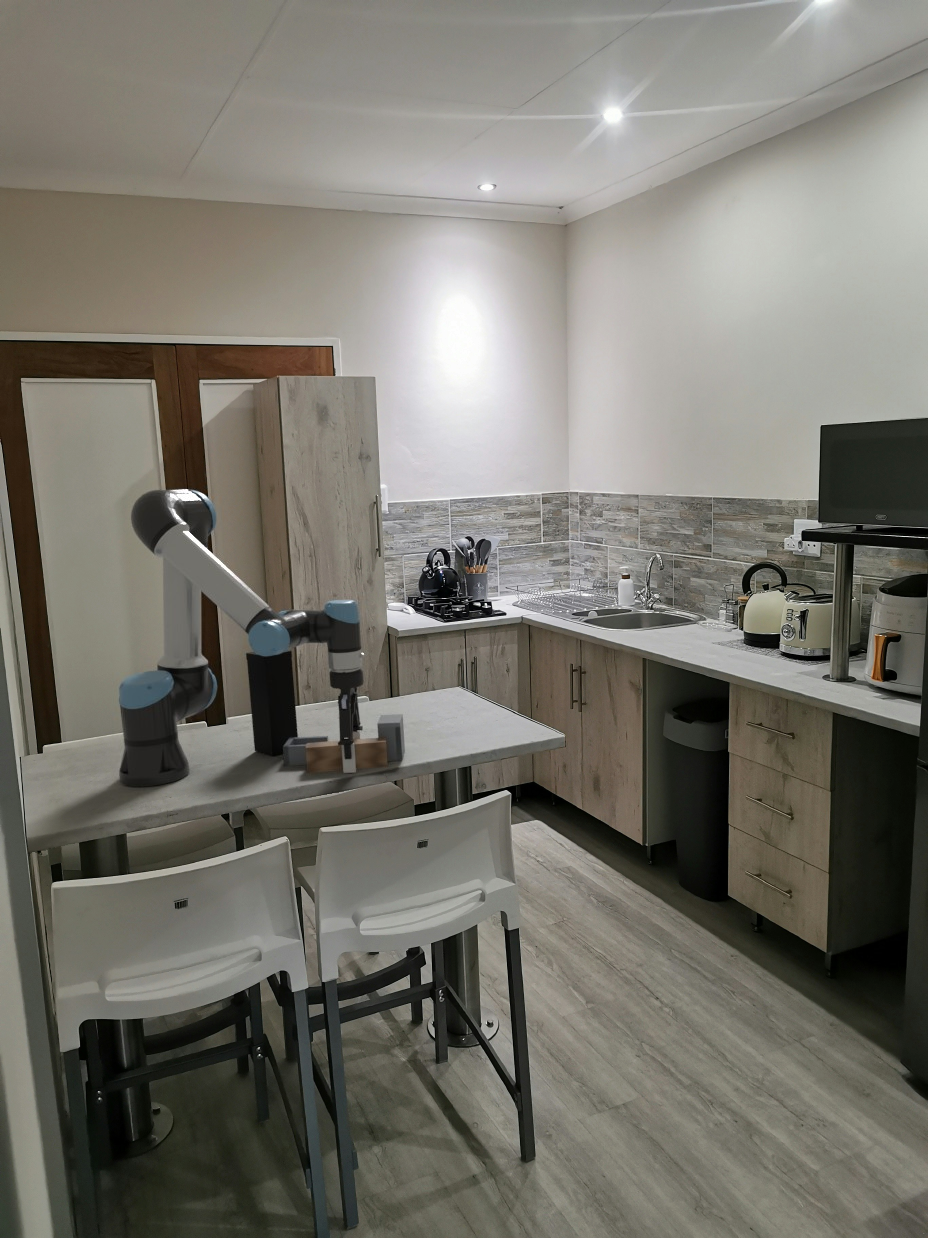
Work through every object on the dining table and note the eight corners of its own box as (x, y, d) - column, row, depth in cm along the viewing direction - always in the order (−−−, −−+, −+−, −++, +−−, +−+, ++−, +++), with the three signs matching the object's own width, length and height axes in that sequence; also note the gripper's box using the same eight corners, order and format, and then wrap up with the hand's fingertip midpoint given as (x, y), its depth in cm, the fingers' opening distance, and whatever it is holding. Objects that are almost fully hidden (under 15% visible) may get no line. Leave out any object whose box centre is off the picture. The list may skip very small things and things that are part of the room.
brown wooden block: (307, 773, 207) (305, 748, 206) (308, 768, 211) (306, 743, 210) (387, 767, 209) (386, 741, 208) (387, 762, 213) (385, 737, 212)
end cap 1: (284, 765, 213) (282, 747, 213) (291, 755, 221) (289, 737, 221) (323, 764, 213) (322, 745, 213) (329, 754, 221) (327, 735, 220)
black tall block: (299, 749, 227) (290, 637, 223) (272, 757, 221) (263, 642, 217) (280, 744, 232) (271, 634, 228) (254, 752, 226) (244, 639, 222)
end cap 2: (379, 761, 213) (377, 723, 212) (383, 751, 221) (380, 715, 220) (402, 760, 213) (399, 722, 212) (404, 750, 221) (402, 714, 219)
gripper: (356, 678, 196) (363, 779, 199) (368, 659, 218) (374, 751, 221) (321, 679, 196) (328, 781, 199) (336, 660, 218) (343, 752, 221)
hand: (352, 765), depth 210 cm, fingers open, 9 cm apart
